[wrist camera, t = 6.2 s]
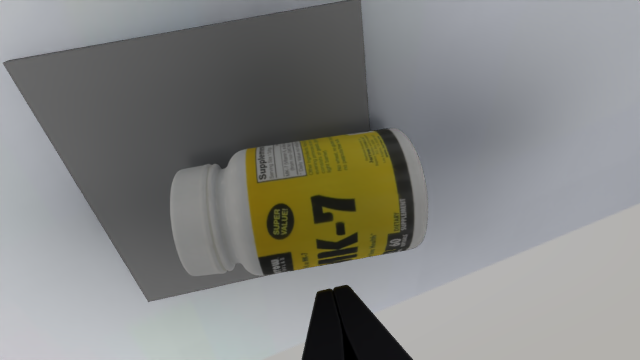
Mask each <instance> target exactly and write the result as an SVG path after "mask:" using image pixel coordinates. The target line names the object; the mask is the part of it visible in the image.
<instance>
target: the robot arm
mask: <svg viewBox="0 0 640 360" xmlns="http://www.w3.org/2000/svg"><path fill="white" fill-rule="evenodd" d="M302 360H413V359H412V358H411V357H410V356H409V354H408V353H407V352H406V351H405V350H404V349H403V348H402V346H401V345H400V344H399V343H398V342H397V341H396V339H395V338H394V337H393V336H392V335H391V334H390V333H389V331H388V330H387V329H386V328H385V327H384V326H383V324H382V323H381V322H380V321H379V320H378V319H377V318H376V316H375V315H374V314H373V313H372V312H371V311H370V309H369V308H368V307H367V306H366V305H365V304H364V303H363V301H362V300H361V299H360V298H359V297H358V296H357V294H356V293H355V292H354V291H353V290H352V289H351V288H350V287H349V286H348V285H343V286H339V287H335V288H334V289H333V290H332V289H326V290H321V291H318V292H317V294H316V297H315V302H314V306H313V311H312V315H311V320H310V324H309V329H308V333H307V338H306V342H305V347H304V351H303V356H302Z"/></svg>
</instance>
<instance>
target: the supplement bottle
mask: <svg viewBox="0 0 640 360" xmlns="http://www.w3.org/2000/svg"><path fill="white" fill-rule="evenodd" d="M170 216H171V226H172V232H173V237H174V241H175V245H176V249H177V252H178V255H179V258H180V261H181V263H182V265H183V267H184V268H185V270H186V271H187V272H188V273H189V274H190V275H192V276H203V275H212V274H224V273H226V272H227V270H228V271H232V270H233V269H234V267H235V264H236V263H241V264H242V265H243V266H244V268H245V269H246V270H247V271H248V272H250V273H251V274H254V275H259V276H261V275H270V274H277V273H281V272H287V271H294V270H299V269H304V268H309V267H315V266H322V265H327V264H333V263H339V262H344V261H349V260H354V259H360V258H365V257H371V256H377V255H382V254H388V253H394V252H399V251H405V250H410V249H413V248H416V247H417V246H419V245H420V244H421V242H422V241H423V239H424V237H425V234H426V229H427V219H428V196H427V188H426V182H425V177H424V172H423V169H422V165H421V162H420V159H419V157H418V154H417V152H416V150H415V148H414V146H413V144H412V143H411V141H410V140H409V138H408V137H407V136H406V135H405V134H404V133H403V132H402V131H400V130H398V129H395V128H388V129H381V130H374V131H367V132H359V133H351V134H346V135H338V136H332V137H324V138H318V139H310V140H304V141H297V142H290V143H283V144H276V145H269V146H262V147H256V148H249V149H244V150H241V151H238V152H237V153H235V154H234V155H233V156H232V158H231V159H230V161H229V163H228V166H227V167H226V168H224V169H221V167H220V166H219V165H218V164H213V165H211V164H207V165H203V166H197V167H192V168H186V169H182V170H179V171H178V172H177V173H176V174H175V176H174V178H173V182H172V186H171V193H170Z"/></svg>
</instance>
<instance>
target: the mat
mask: <svg viewBox="0 0 640 360" xmlns="http://www.w3.org/2000/svg"><path fill="white" fill-rule="evenodd" d="M3 64H4V66H5V68H6V69H7V71H8V72H9V74H10V76H11V77H12V79H13V81H14V82H15V84H16V86H17V87H18V89H19V90H20V92H21V94H22V95H23V97H24V99H25V100H26V102H27V104H28V105H29V107H30V109H31V110H32V112H33V113H34V115H35V117H36V118H37V120H38V122H39V123H40V125H41V127H42V128H43V130H44V131H45V133H46V135H47V136H48V138H49V140H50V141H51V143H52V145H53V146H54V148H55V150H56V151H57V153H58V154H59V156H60V158H61V159H62V161H63V163H64V164H65V166H66V168H67V169H68V171H69V172H70V174H71V176H72V177H73V179H74V181H75V182H76V184H77V186H78V187H79V189H80V190H81V192H82V194H83V195H84V197H85V199H86V200H87V202H88V204H89V205H90V207H91V209H92V210H93V212H94V213H95V215H96V217H97V218H98V220H99V222H100V223H101V225H102V227H103V228H104V230H105V231H106V233H107V235H108V236H109V238H110V240H111V241H112V243H113V245H114V246H115V248H116V250H117V251H118V253H119V254H120V256H121V258H122V259H123V261H124V263H125V264H126V266H127V268H128V269H129V271H130V272H131V274H132V276H133V277H134V279H135V281H136V282H137V284H138V286H139V287H140V289H141V291H142V292H143V294H144V295H145V297H146V299H147V300H148V302H150V301H154V300H159V299H163V298H168V297H172V296H177V295H181V294H186V293H190V292H195V291H199V290H204V289H208V288H213V287H217V286H222V285H226V284H231V283H235V282H240V281H244V280H249V279H253V278H258V277H262V276H267V275H261V276H259V275H254V274H251V273H250V272H248V271H247V270H246V269H245V268H244V266H243V265H242V264H241V263H236V264H235V267H234V269H233V270H232V271H228V270H227V272H226V273H224V274H212V275H203V276H192V275H190V274H189V273H188V272H187V271H186V270H185V268H184V267H183V265H182V263H181V261H180V258H179V255H178V252H177V249H176V245H175V241H174V237H173V232H172V226H171V216H170V193H171V186H172V182H173V178H174V176H175V174H176V173H177V172H178V171H179V170H182V169H186V168H192V167H197V166H203V165H207V164H211V165H213V164H218V165H219V166H220V167H221V169H224V168H226V167H227V166H228V163H229V161H230V159H231V158H232V156H233V155H234V154H235V153H237V152H238V151H241V150H244V149H249V148H256V147H262V146H269V145H276V144H283V143H290V142H297V141H304V140H310V139H318V138H324V137H332V136H338V135H346V134H351V133H359V132H367V131H370V126H369V112H368V98H367V84H366V69H365V55H364V41H363V27H362V13H361V0H347V1H341V2H336V3H330V4H325V5H319V6H313V7H308V8H302V9H296V10H291V11H285V12H280V13H274V14H268V15H263V16H257V17H251V18H246V19H240V20H234V21H229V22H223V23H218V24H212V25H206V26H201V27H195V28H189V29H184V30H178V31H173V32H167V33H161V34H156V35H150V36H144V37H139V38H133V39H127V40H122V41H116V42H111V43H105V44H99V45H94V46H88V47H82V48H77V49H71V50H66V51H60V52H54V53H49V54H43V55H37V56H32V57H26V58H21V59H15V60H9V61H6V62H4V63H3ZM270 275H271V274H270Z"/></svg>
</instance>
